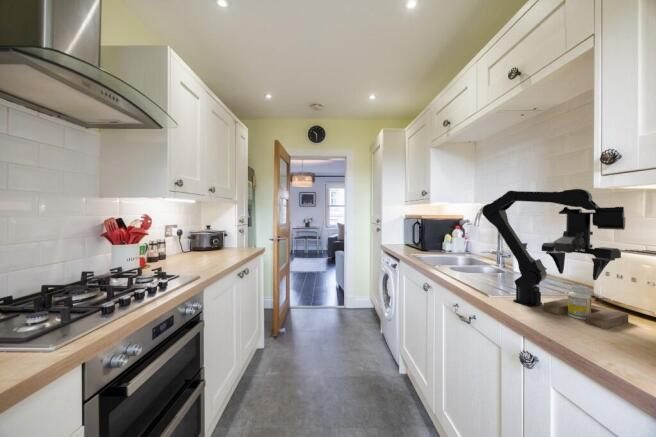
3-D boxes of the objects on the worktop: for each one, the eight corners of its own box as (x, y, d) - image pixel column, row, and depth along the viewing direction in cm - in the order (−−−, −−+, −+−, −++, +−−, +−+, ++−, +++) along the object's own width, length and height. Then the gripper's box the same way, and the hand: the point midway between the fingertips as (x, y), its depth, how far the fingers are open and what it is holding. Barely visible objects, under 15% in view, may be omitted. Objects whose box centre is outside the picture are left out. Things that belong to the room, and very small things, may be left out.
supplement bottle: (579, 320, 84) (580, 289, 84) (563, 314, 89) (563, 284, 89) (596, 319, 84) (596, 288, 84) (578, 313, 90) (579, 283, 89)
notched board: (543, 310, 92) (543, 303, 92) (565, 305, 97) (565, 298, 97) (605, 329, 78) (606, 320, 78) (628, 322, 82) (628, 313, 82)
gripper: (530, 227, 95) (530, 272, 95) (599, 231, 77) (598, 286, 78) (552, 226, 99) (551, 270, 99) (622, 229, 81) (621, 282, 82)
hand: (577, 276), depth 89 cm, fingers open, 9 cm apart
